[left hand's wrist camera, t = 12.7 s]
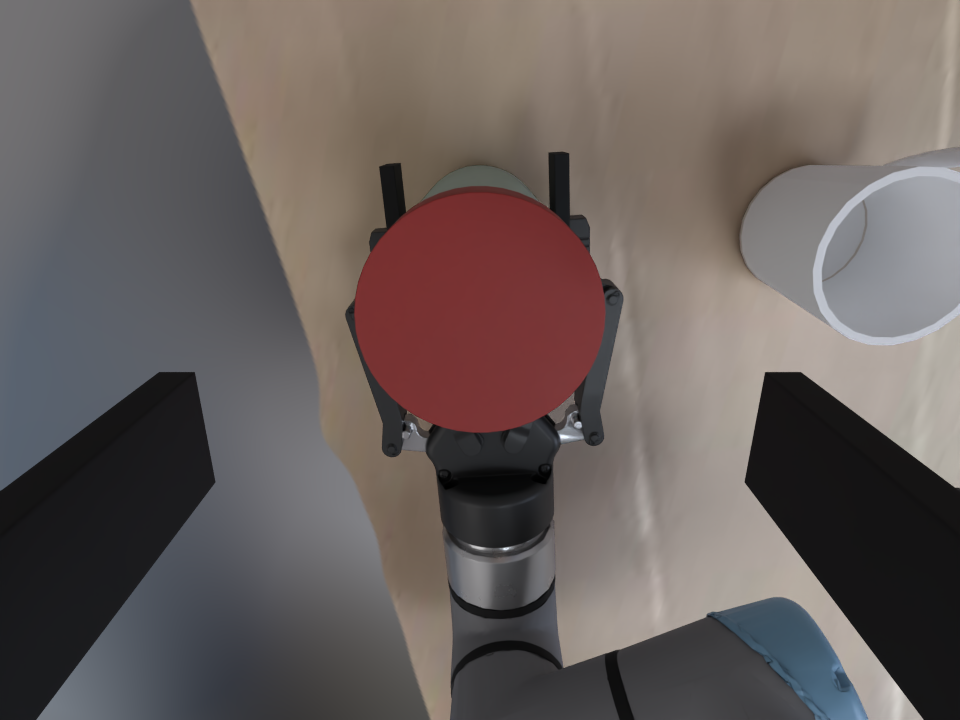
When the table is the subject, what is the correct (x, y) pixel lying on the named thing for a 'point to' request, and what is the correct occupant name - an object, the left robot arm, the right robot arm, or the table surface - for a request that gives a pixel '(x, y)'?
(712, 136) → the table surface
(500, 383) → the lid
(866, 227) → the mug
